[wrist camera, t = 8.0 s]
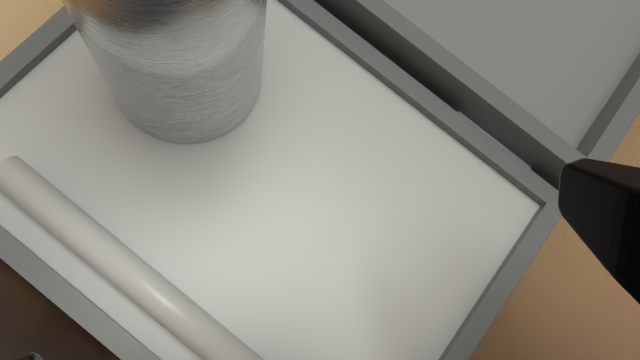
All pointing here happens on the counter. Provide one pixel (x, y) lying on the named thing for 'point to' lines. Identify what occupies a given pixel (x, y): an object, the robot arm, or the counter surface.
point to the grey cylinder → (177, 61)
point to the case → (518, 67)
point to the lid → (266, 207)
